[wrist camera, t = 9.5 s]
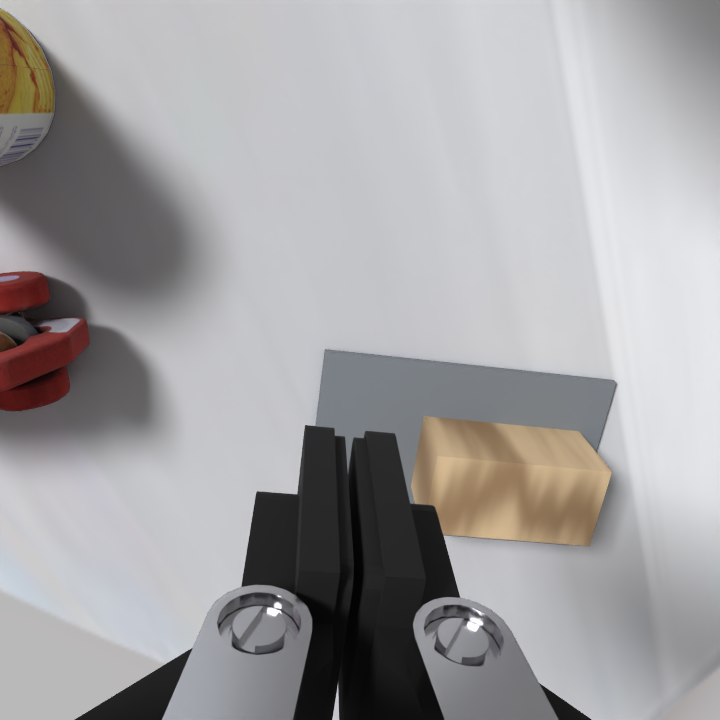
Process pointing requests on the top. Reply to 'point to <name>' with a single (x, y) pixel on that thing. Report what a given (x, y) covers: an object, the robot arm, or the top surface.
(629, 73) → the top surface
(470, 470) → the oak block
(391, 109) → the top surface
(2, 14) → the canned food
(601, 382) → the mat
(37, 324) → the toy fire truck
